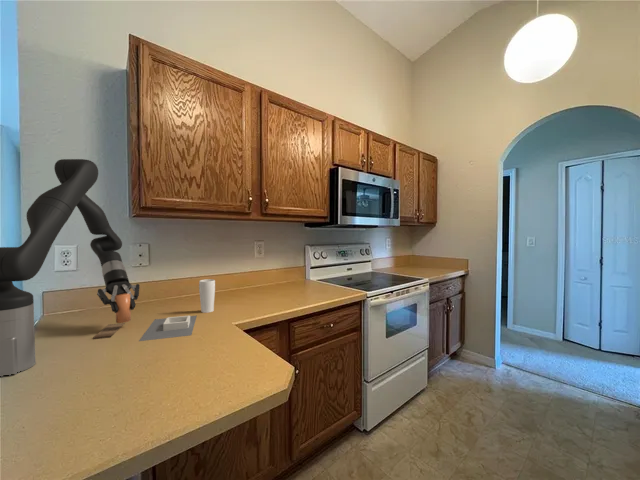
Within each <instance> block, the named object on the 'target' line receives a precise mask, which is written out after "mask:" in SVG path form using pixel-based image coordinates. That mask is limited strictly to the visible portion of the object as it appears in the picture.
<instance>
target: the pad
mask: <svg viewBox="0 0 640 480" xmlns="http://www.w3.org/2000/svg"><path fill="white" fill-rule="evenodd" d="M125 324H126V322H124V323H110V324H107V325H106V326H105V327H104V328H103V329H101V330H100V331H99V332H98V333H97V334H96V335H94V336H93V340H94V339H95V340H97V339H106V338H107V339H108V338H112V337H113V336H114V335H115V334H116V333H117V332H118V331H119V330H120V329H121V328H122V327H123V326H124V325H125Z"/></svg>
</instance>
